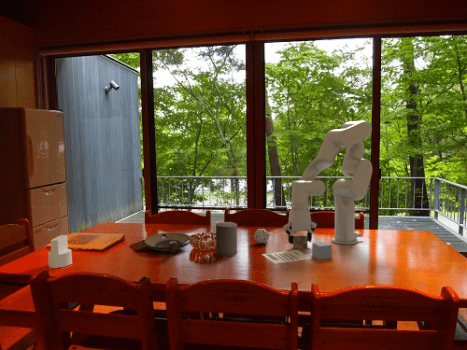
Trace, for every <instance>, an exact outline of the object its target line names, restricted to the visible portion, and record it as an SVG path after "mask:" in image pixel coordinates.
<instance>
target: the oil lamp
mask: <svg viewBox="0 0 467 350" xmlns="http://www.w3.org/2000/svg"><path fill="white" fill-rule="evenodd" d="M189 237H191V235H189V234H186V233H182V232H181V233H180V232H163V233H162V232H160V233H157V234H153V235H151V236H149V237H147V238H145V239H144V241H143V243H144V246H145V247H147V248H149V249H152V250H155V251H159V252H171V253H175V252H176V250H180V249H182V248H185V247H186V246H188V245H189V244H191V241H190V240H189ZM164 245H169V247H162V246H164Z"/></svg>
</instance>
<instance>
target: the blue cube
mask: <svg viewBox="0 0 467 350" xmlns="http://www.w3.org/2000/svg"><path fill="white" fill-rule="evenodd" d="M311 243H312V247H311V248H312V257H315V258H316V259H318V260H326V259H332V258H333V255H332V254H333V253H332V252H333V249H332V248H333V245H332V244H330V243H329V242H326V241H317V242H311Z"/></svg>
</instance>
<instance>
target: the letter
mask: <svg viewBox="0 0 467 350" xmlns="http://www.w3.org/2000/svg"><path fill="white" fill-rule="evenodd" d="M261 255H262V256H263V257H265V258H266V259H267V260H269V261H270V262H272V263H274V265H275V264H276V265H277V264H282V263H283V264H284V263H289V262H297V261H298V262H299V261H304V260H312V259H313V257H311V256H309V255H308V254H305V253H304V252H302V251H301V250H298V249H294V250H289V251H287V250H286V251H280V252H278V251H277V252H269V253H262V254H261Z"/></svg>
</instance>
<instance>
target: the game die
mask: <svg viewBox="0 0 467 350" xmlns="http://www.w3.org/2000/svg"><path fill="white" fill-rule="evenodd" d="M270 236H272V234H270V233H269V232H268V231H267V230H266V227H264V228H258V229H257V228H256V227H255V232H254V235H253V236H252V237H251V238H252V239H254V240H255V242H256V243H257V246H259V244H267V245H268V240H269V238H270Z"/></svg>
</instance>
